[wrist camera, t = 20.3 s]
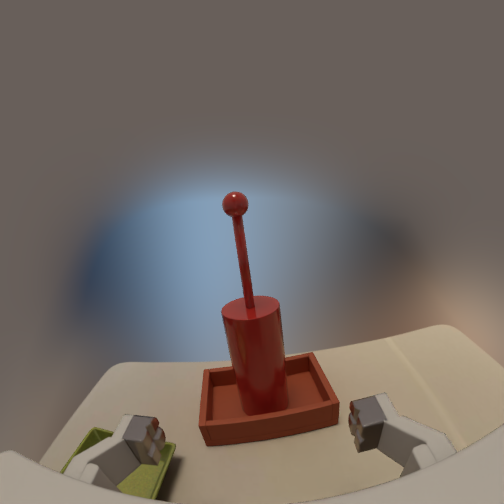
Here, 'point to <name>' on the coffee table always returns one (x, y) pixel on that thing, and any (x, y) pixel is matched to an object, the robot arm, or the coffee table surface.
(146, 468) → the green tray
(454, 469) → the robot arm
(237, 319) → the red ball-topped plunger
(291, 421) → the red tray
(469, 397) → the coffee table surface
